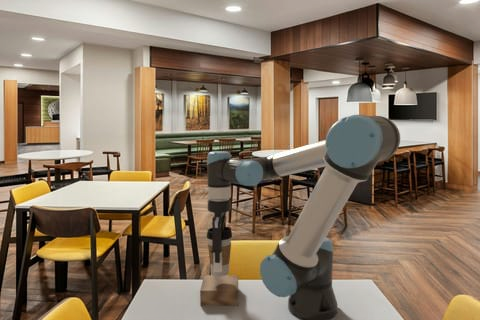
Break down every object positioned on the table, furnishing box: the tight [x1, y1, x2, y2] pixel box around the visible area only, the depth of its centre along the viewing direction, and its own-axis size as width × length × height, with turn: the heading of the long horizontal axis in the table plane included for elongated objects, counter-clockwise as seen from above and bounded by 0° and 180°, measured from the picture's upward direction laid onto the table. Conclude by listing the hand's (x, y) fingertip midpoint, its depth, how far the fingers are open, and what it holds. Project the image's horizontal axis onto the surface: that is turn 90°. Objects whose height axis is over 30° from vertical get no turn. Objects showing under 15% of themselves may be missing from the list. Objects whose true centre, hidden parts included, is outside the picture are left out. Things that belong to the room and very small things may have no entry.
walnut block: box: [199, 274, 239, 307], centre depth 125 cm, size 12×12×5 cm
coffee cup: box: [206, 226, 233, 276], centre depth 124 cm, size 8×8×15 cm
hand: (219, 266), depth 125 cm, fingers closed on coffee cup, 8 cm apart
